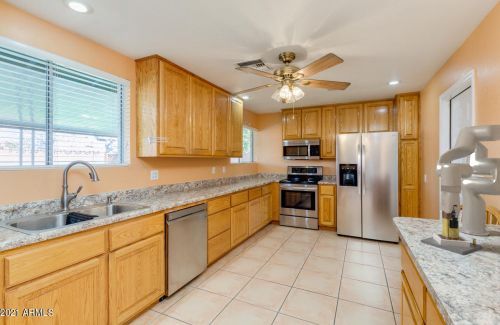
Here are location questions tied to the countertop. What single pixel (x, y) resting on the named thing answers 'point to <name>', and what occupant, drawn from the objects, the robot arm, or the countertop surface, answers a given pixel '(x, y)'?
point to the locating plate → (451, 248)
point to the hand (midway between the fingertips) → (450, 225)
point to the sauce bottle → (449, 232)
